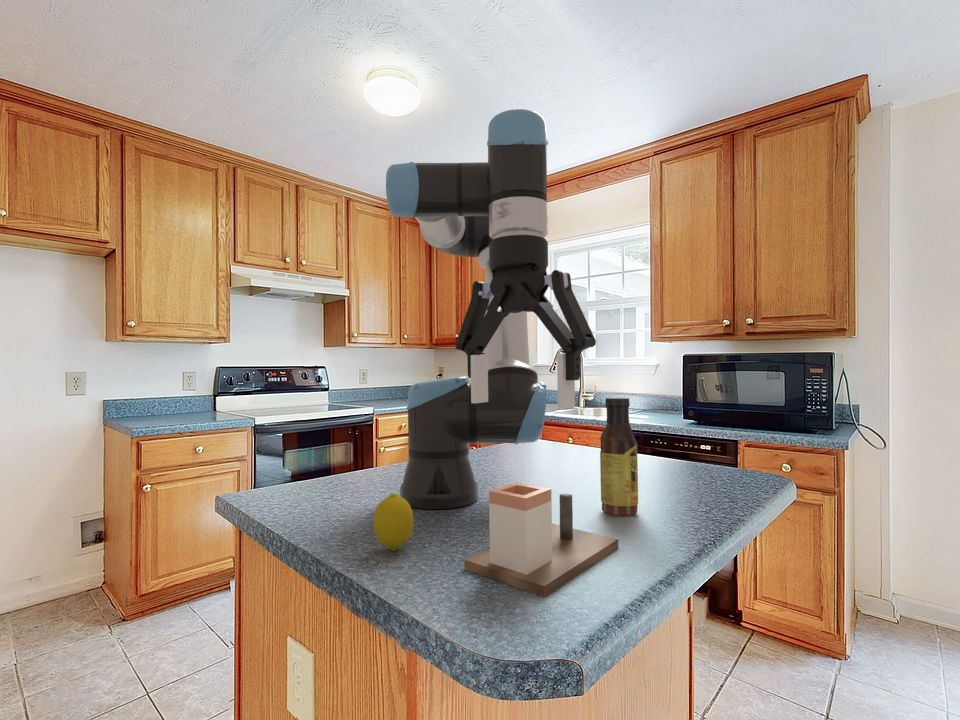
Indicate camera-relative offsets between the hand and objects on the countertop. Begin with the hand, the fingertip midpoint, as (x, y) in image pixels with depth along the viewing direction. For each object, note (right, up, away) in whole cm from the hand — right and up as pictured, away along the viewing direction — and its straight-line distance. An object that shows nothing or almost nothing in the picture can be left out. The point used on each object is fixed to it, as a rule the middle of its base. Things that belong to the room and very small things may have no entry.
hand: (520, 405), depth 64 cm
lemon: (-17, -21, +6) cm, 28 cm away
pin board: (+4, -21, +3) cm, 21 cm away
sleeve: (0, -20, -1) cm, 20 cm away
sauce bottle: (+19, -21, +23) cm, 36 cm away
